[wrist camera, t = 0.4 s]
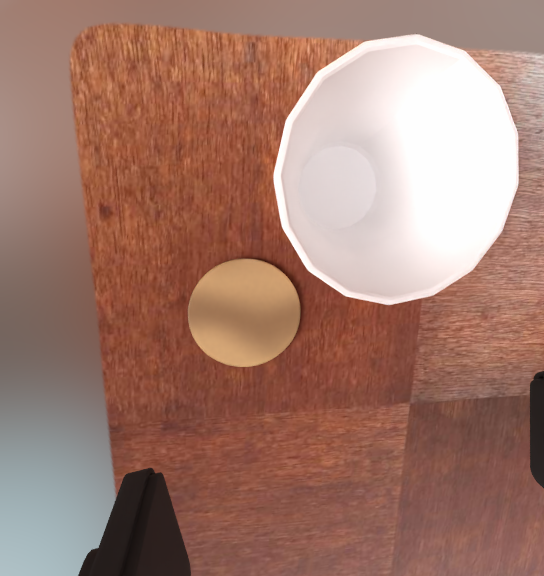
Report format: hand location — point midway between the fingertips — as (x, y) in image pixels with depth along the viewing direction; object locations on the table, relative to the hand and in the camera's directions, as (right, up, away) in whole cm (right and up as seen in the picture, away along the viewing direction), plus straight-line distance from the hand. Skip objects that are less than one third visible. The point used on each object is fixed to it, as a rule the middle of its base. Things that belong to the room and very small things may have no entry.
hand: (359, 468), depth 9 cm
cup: (+3, +12, +19) cm, 23 cm away
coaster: (-4, +2, +20) cm, 21 cm away
